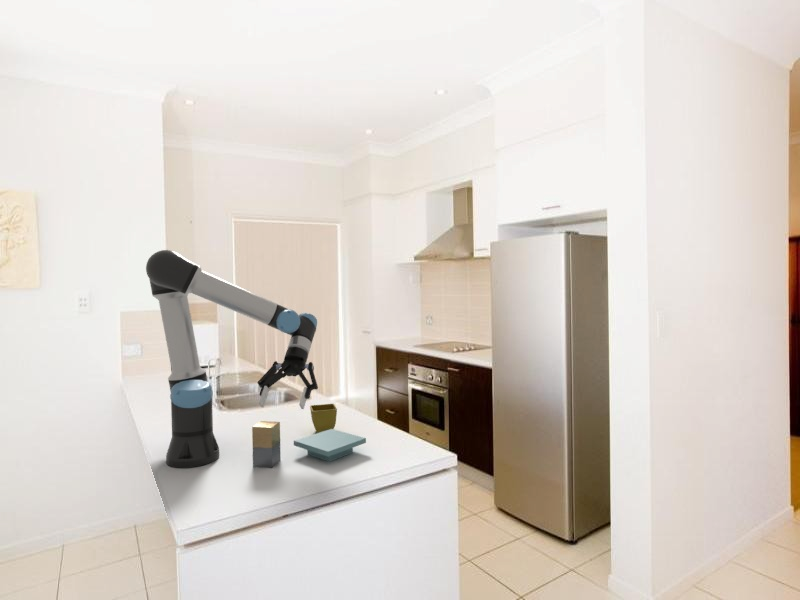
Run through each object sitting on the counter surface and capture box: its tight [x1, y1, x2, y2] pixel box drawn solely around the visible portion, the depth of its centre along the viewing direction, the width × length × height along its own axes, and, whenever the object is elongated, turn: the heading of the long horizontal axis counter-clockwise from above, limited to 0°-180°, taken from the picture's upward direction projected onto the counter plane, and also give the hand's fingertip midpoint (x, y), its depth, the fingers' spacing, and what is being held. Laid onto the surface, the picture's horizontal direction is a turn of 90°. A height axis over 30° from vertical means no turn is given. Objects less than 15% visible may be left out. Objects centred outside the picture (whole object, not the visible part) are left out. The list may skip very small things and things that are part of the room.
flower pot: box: [309, 403, 338, 434], centre depth 182 cm, size 9×9×9 cm
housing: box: [251, 420, 281, 469], centre depth 151 cm, size 6×6×12 cm
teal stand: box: [293, 428, 367, 462], centre depth 159 cm, size 16×16×4 cm
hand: (281, 406), depth 160 cm, fingers open, 13 cm apart
